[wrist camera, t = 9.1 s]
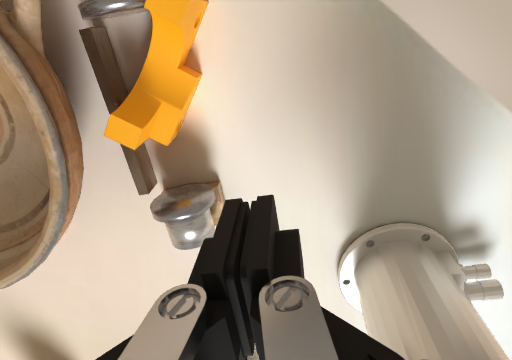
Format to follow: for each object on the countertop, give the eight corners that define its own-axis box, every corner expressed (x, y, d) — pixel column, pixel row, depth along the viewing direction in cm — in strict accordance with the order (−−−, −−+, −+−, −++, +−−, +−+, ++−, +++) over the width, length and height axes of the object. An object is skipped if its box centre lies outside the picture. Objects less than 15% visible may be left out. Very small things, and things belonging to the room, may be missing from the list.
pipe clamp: (177, 135, 33) (155, 159, 28) (135, 114, 33) (103, 135, 27) (228, 12, 29) (214, 10, 23) (180, -14, 28) (153, -23, 22)
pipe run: (157, -64, 26) (123, -87, 21) (228, 218, 37) (219, 255, 31) (69, -41, 27) (13, -58, 22) (163, 226, 38) (141, 263, 32)
